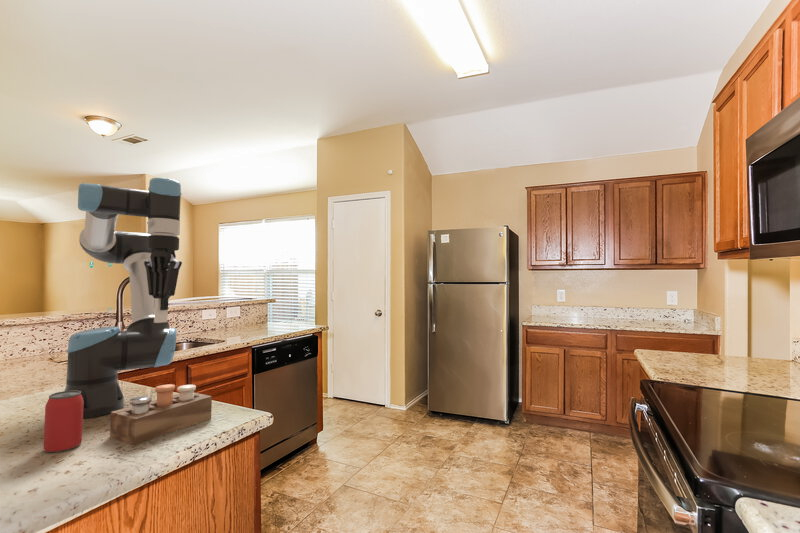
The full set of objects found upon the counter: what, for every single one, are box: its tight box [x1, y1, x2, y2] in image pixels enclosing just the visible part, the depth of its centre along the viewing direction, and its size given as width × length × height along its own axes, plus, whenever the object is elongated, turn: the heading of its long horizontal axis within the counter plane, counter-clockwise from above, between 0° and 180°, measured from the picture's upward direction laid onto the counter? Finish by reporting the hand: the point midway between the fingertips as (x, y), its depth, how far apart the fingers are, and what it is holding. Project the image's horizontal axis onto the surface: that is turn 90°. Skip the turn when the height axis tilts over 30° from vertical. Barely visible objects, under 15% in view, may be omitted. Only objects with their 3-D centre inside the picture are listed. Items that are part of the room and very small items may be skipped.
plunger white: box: [177, 384, 197, 401], centre depth 106 cm, size 4×4×7 cm
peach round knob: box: [154, 383, 176, 408], centre depth 101 cm, size 4×4×7 cm
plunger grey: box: [129, 395, 153, 415], centre depth 95 cm, size 4×4×7 cm
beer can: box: [42, 390, 84, 453], centre depth 88 cm, size 7×7×12 cm
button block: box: [109, 392, 213, 446], centre depth 101 cm, size 10×20×6 cm, turn 154°
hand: (160, 322), depth 106 cm, fingers closed
